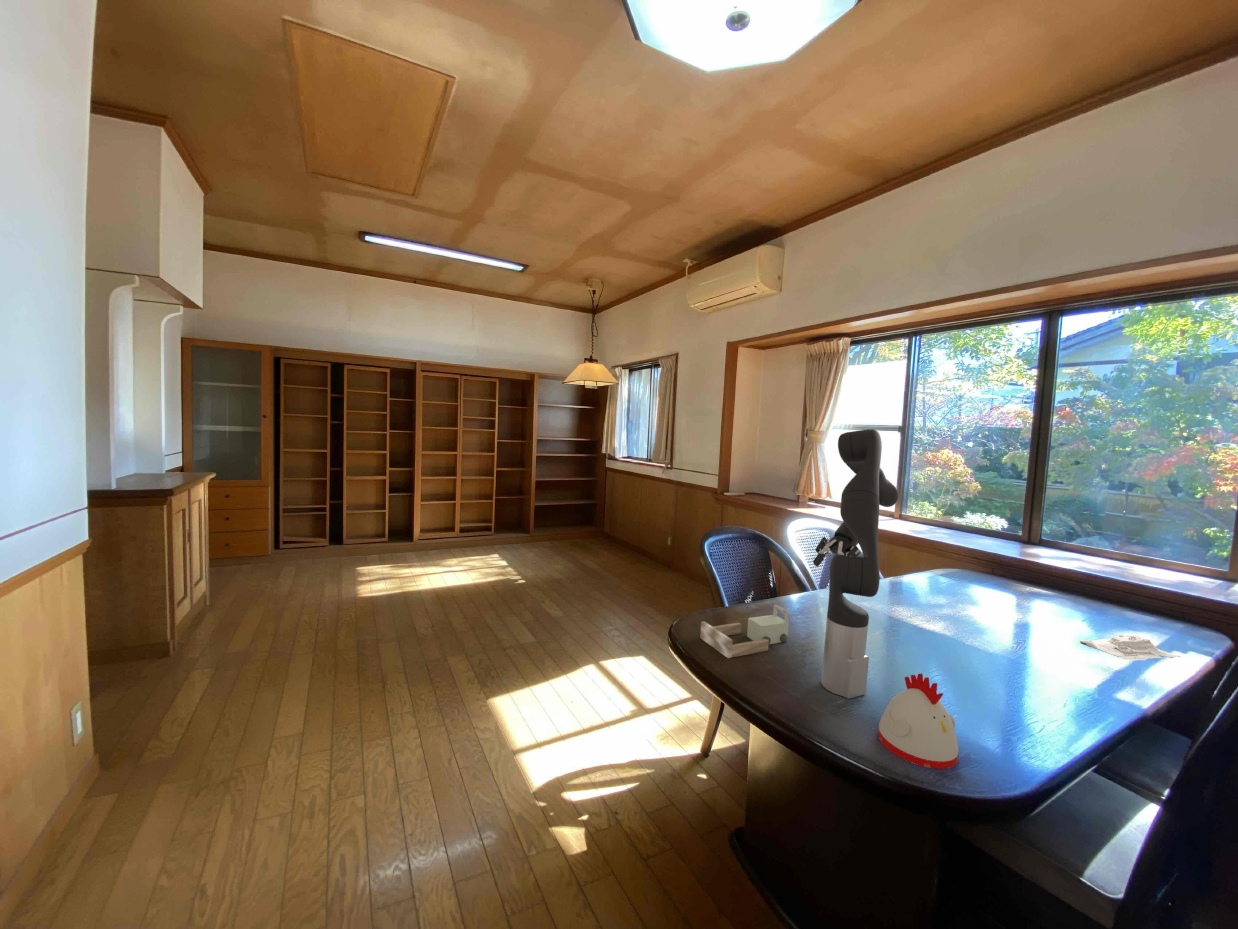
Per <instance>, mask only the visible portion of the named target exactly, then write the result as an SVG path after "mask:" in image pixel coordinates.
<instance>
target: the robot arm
mask: <svg viewBox="0 0 1238 929" xmlns="http://www.w3.org/2000/svg"><path fill="white" fill-rule="evenodd" d="M882 447H883V445H882V437H881V434H880V432H879V431H878V430H876V429H872V428H868V429H860V430H854V431H848V432H843V433H841V434H840V435H839V436H838V440H837V449H838V454H839V457H840V458H841V460H842V461H843V463H844V464H845V465H846V466H847V467H848V468H849V469H850V470H851V471H852V472H853V473H854V474H855V475H854V476H853V477H852V478H851V479H850V481H849V482H848V483H847V484H846V485H845V487H844V488H843V490H842V492H841V497H840V498H841V500H840V511H839V512H840V517H841V519H842V522H841V524H840V525H839V526H838V528H837V529H836V530H835V531H834V535H833V537H831V538H830V539H828V538H826V536H823V537H822V538H821V539H820V541H819V542H818V545H817V546H816V548H815V550H814V551H815V552H816V553H817V555H816V556H815V557H814V559H813V560H812V561H813V565H814V566H815V567H817V568H818V567H819V566H820V565H821V564H822V562H823V561H824V560H825V558H826V557H829V556H832V555H833V554H834V555H833V557H832V559H830V560H831V561H830V566H829V586H828V588H829V589H828V593H829V594H828V606H827V611H826V612H827V613H826V624H825V632H824V633H825V636H824V646H823V656H822V660H823V661H822V671H821V673H822V674H821V681H820V682H821V685H822V687H823V688H825V689H826V690H827V691H829V692H831V693H832V694H834V695H838V696H840V697H844V698H845V699H850V700H851V699H853V698H858V697H861V696H863V695H864V696H865V695H866V694H867V693H866V692H867V682H868V673H869V672H868V671H869V660H870V657H869V656H868V655H866V654H867V652H866V650H867V641H868V627H869V619H870V616H869V612H868V611H867V610H866V609H865V608H863V607H862V606H859V605H857V604H855V603H854V602H852V601H850V600H849V599H848V598H847V597H845V596H844V594H848V595H853V596H860V597H865V598H866V597H867V598H872V597H873V598H874V597H875V596H876V595H877V594H878V591H879V588H880V578H881V576H880V558H879V557H880V556H879V555H880V554H879V538H878V537H879V520H880V506H882V507H884V508H891V507H892V506H894V505H896V503H897V502H898V500H899V491H898V488H897V487H896V486H895V485H894V484H893V483H892V482H891V481H890V480H889V479H888V478H886V475H885V473H884V471H883V469H882V468H881V460H882V451H883V450H882V449H883V448H882ZM858 545H859V547H860V549H861V550H860V549H859V547H858ZM861 553H862V556H859V555H860V554H861Z"/></svg>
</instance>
